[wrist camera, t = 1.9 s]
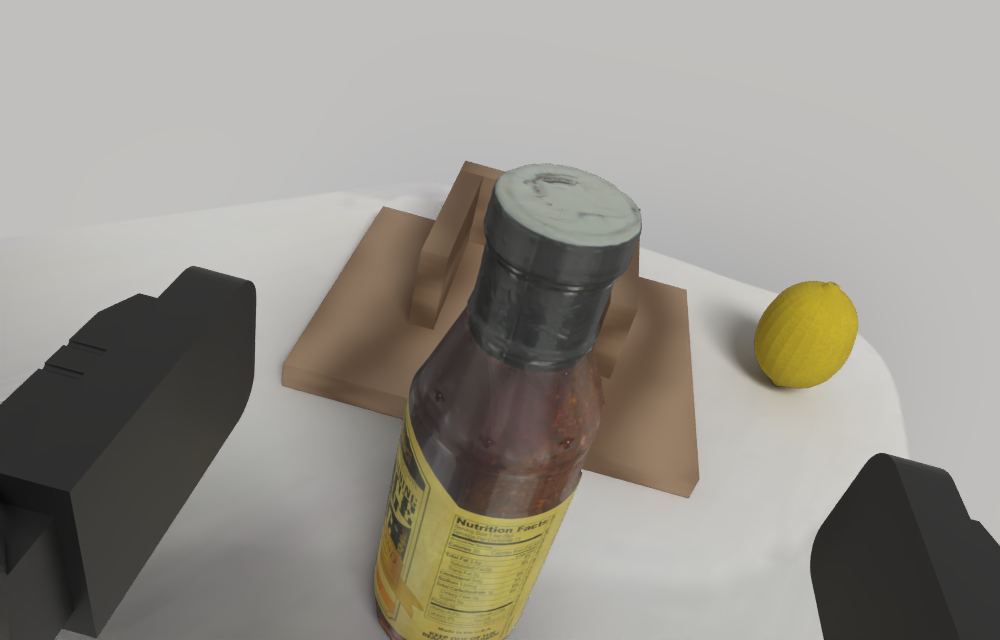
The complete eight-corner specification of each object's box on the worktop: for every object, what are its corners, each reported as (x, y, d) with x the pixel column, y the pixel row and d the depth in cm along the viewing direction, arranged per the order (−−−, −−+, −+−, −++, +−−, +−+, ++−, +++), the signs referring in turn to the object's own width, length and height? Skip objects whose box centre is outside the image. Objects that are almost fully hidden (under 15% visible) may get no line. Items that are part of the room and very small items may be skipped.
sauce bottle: (399, 524, 35) (489, 112, 23) (530, 570, 34) (690, 175, 23) (340, 653, 29) (419, 205, 18) (494, 710, 29) (679, 288, 17)
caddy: (281, 385, 40) (288, 284, 36) (380, 224, 55) (392, 140, 51) (688, 498, 40) (738, 409, 36) (678, 306, 54) (713, 229, 51)
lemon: (831, 419, 48) (897, 319, 43) (749, 408, 47) (808, 305, 42) (800, 361, 52) (857, 265, 48) (725, 350, 51) (775, 251, 47)
